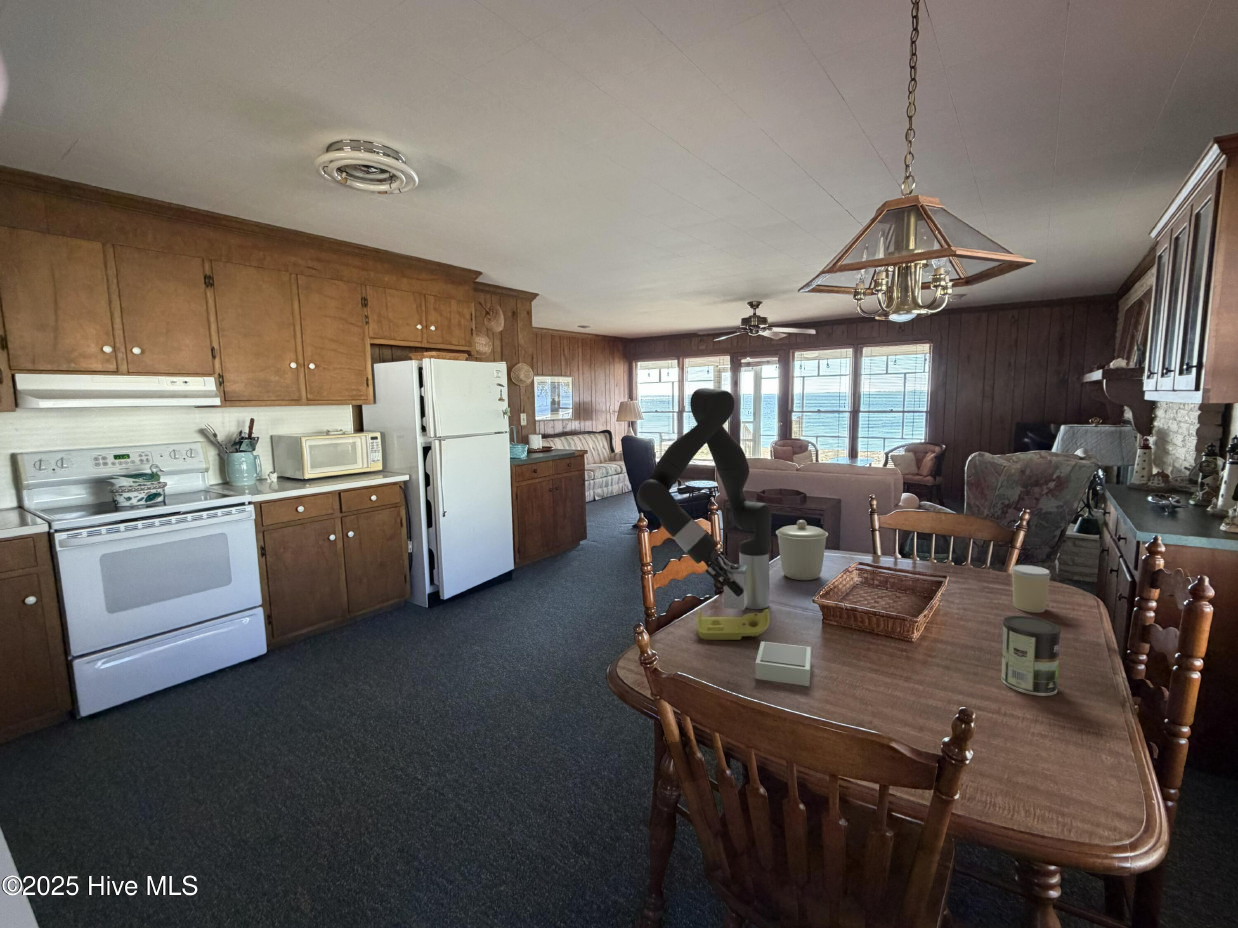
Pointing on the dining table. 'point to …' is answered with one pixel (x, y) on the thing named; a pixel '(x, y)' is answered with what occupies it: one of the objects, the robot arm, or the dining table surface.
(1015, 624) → the coffee can
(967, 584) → the dining table surface
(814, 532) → the canister
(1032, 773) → the dining table surface
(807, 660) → the stand
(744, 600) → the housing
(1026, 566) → the cream jar
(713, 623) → the plastic component
